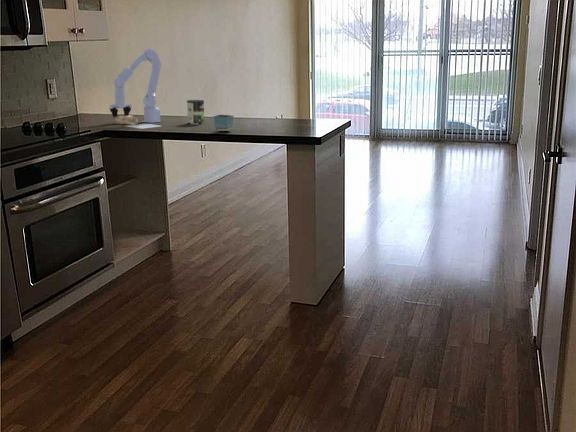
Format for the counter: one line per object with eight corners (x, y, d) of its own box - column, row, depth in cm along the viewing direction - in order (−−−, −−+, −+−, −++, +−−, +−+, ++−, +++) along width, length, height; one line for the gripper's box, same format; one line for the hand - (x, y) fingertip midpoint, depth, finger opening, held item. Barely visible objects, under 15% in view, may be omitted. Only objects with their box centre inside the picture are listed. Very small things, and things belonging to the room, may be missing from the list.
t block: (130, 121, 372) (130, 115, 371) (143, 123, 366) (142, 117, 364) (114, 123, 363) (114, 116, 362) (127, 125, 356) (126, 118, 355)
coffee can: (206, 122, 376) (206, 100, 372) (201, 124, 366) (200, 101, 362) (191, 122, 378) (190, 99, 374) (185, 124, 368) (184, 100, 364)
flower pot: (234, 131, 342) (234, 115, 340) (227, 133, 334) (227, 117, 332) (220, 130, 345) (219, 114, 342) (213, 132, 337) (213, 116, 334)
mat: (145, 124, 367) (145, 123, 367) (163, 126, 358) (163, 126, 358) (124, 126, 355) (124, 126, 355) (141, 129, 346) (141, 128, 346)
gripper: (125, 96, 372) (126, 118, 376) (105, 97, 361) (106, 120, 365) (132, 97, 368) (133, 119, 372) (113, 98, 357) (114, 121, 361)
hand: (121, 119), depth 368 cm, fingers open, 7 cm apart
